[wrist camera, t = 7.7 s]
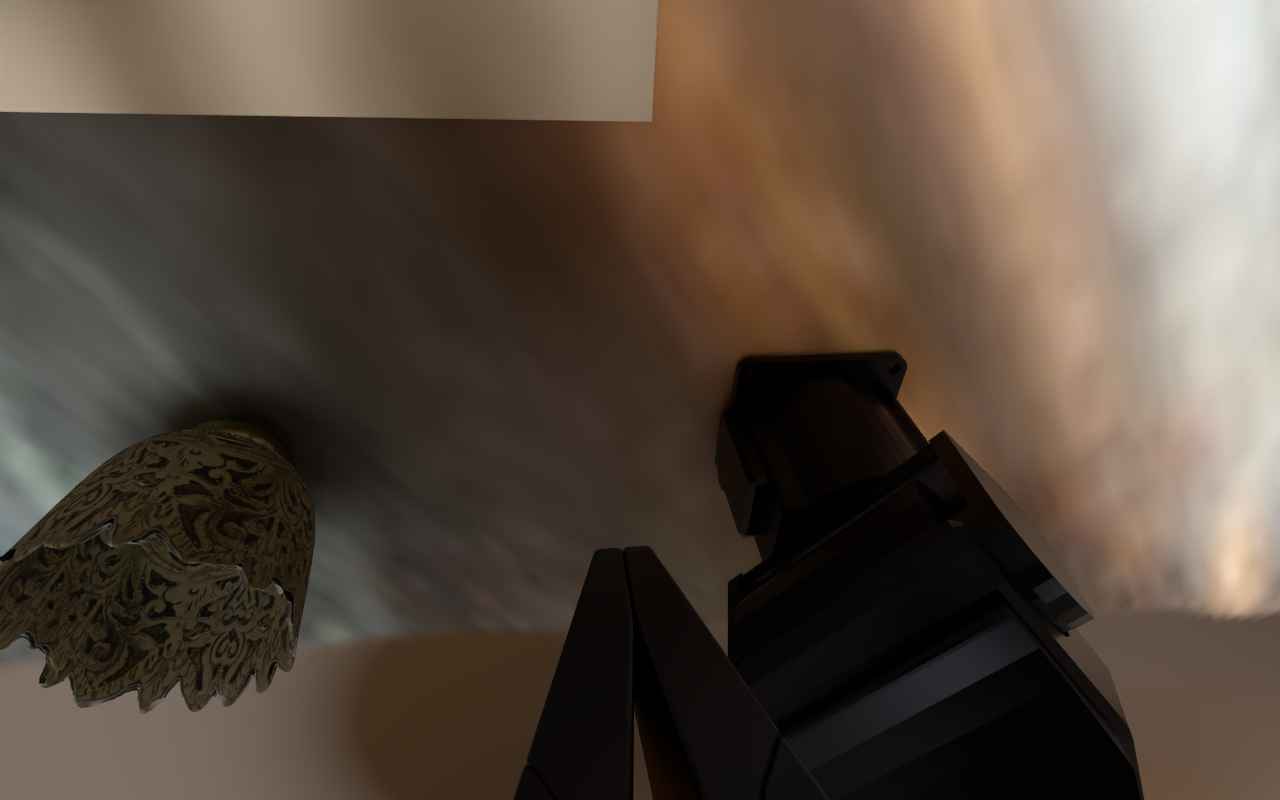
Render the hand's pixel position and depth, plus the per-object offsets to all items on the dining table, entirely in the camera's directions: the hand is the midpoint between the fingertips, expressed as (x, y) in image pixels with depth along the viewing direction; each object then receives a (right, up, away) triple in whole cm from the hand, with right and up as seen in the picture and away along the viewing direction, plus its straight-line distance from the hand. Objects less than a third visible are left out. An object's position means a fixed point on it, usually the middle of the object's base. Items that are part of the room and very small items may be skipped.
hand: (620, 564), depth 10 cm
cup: (-14, +1, +14) cm, 20 cm away
